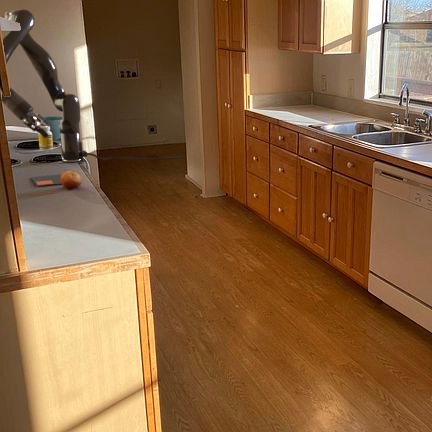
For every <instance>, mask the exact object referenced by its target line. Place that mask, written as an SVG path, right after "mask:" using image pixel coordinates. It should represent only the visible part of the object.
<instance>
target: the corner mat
mask: <svg viewBox="0 0 432 432" xmlns="http://www.w3.org/2000/svg"><path fill="white" fill-rule="evenodd" d="M61 176H62V174H53V175H43V176H42V175H41V176H32V177H31V179H32V181H33V182H34V184H35V185H36V187H38V188H39V187H49V186H58V185H59V186H61V185H62V183H61Z"/></svg>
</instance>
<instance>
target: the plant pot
mask: <svg viewBox="0 0 432 432" xmlns="http://www.w3.org/2000/svg"><path fill="white" fill-rule="evenodd" d="M42 117H43V118H44V119H45V120H46V122H47V123H48V126H49V127H50V129H51V130H52V131H53V132H54V133H53V134H52V140H53V141H55V140H59V139H61V138H60V128H59V121H60V120H62V119H63V116H57V115H56V116H54V115H53V116H52V115H51V116H48V115H47V116H42ZM43 122H44V121H43ZM37 133H38V134H39V132H37Z"/></svg>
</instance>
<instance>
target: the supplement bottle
mask: <svg viewBox="0 0 432 432" xmlns="http://www.w3.org/2000/svg"><path fill="white" fill-rule="evenodd" d="M41 128H42V129H44V130H45V131H46V132H47V133H48V136H47V137H46V138H44V137H43V136H42V135H41V134H40V133H38V145H39V150H40V151H41V150H42V151H50V150H53V149H54V143H53V141H54V140H52V132H50V131H49V130H50V127H49V126H41Z"/></svg>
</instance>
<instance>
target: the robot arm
mask: <svg viewBox="0 0 432 432" xmlns="http://www.w3.org/2000/svg"><path fill="white" fill-rule="evenodd" d="M5 19H7V20H11V21H15V22H18V23H20V26H21V30H20V31H10V30H9V32H8V33H7V34H6V35H5V36H4V37H3V38H2V39H3V45H4V52H5V60H6V65H7V64H8V62H9V60H10V58H11V56H12V55H13V54H14V52H15V50H16V49H17V47H18V46H20V47H21V48H22V50H23V52H24V53H25V55H26V56H27V59H28V60H29V62H30V64H31V65H32V67H33V69H34V70H35V72H36V74H37V75H38V77H39V79H40V80H41V82H42V84H43V85H44V87H45V89H46V91H47V93H48V95H49V98H50V99H51V102H52V104H53V106H54V107H55V109H56V110H58V111H59V112H62V117H63V119H62V120H60V121H59V128H60V138H59V139H60V148H61V160H62V162H64V163H78V162H83V161H84V158H86V157H87V158H88V156H92V157H95V158H96V159H97V160H99V161H108V160H118V159H119V160H132V161H167V160H179V159H185V156H174V157H159V158H157V157H156V158H155V157H154V158H150V157H149V158H145V157H126V156H125V157H124V156H110V157H103V158H102V157H99V156H98V155H96V154H95V153H90V152H87V150H83V145H82V144H83V142H82V141H81V132H80V121H81V105H80V99H79V98H78V96H77V95H75V94H73V93H69V92H66V91H65V90H64V88H63V87H62V85H61V82H60V80H59V75H58V74H59V73H58V68H57V64H56V63H55V61H54V59H53V57H52V56H51V54H50V53H49V52H48V51H47V49H45V47H43V46H42V45H41V44H40V43H39V42H37V40H36V39H34V37H32V36H33V35H31V34H30V31H32V30H33V28H34V26H35V23H36V21H35V17H34V15H33V13H32V12H31V11H30V10H28V9H25V8H19V9H11V10H7V11H6V12H5V14H4V20H5ZM10 92H11V96H10V97H4V96H3V94H2V102H3V103H2V102H1V103H2V104H3V105H4V106H5V107H6V109H8V110H9V111H10V112H11V113H12V114H13V115H14V116H15V117H16V118H18V119H19V120H20V121H22V123H23V125H25V126H27V127H28V128H29V129H30V130H32V131H33V132H37V133H38V132H39V133H40V134H41V135H42V136H43V137H44V138H46V137H47V136H48V133H47V132H46V131H45V130H44V129H42V128H41V126H48V123H47V122H46V120H45V119H44V118H43V117H44V116H42V114H40V113H38V114H36V113H34V112H33V111H34V107H33V106H32V105H31V104H30V103H29V102H28V101H27V100H26V99H25V98H24V97H23V96H21V95H20V94H19V93H18V92H17V91H15V90H14V89H13V87H11V86H10ZM43 121H44V122H43ZM49 131H50V132H52V134H53V133H54V132H53V131H52V130H51V129H50V130H49ZM39 133H38V134H39Z"/></svg>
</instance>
